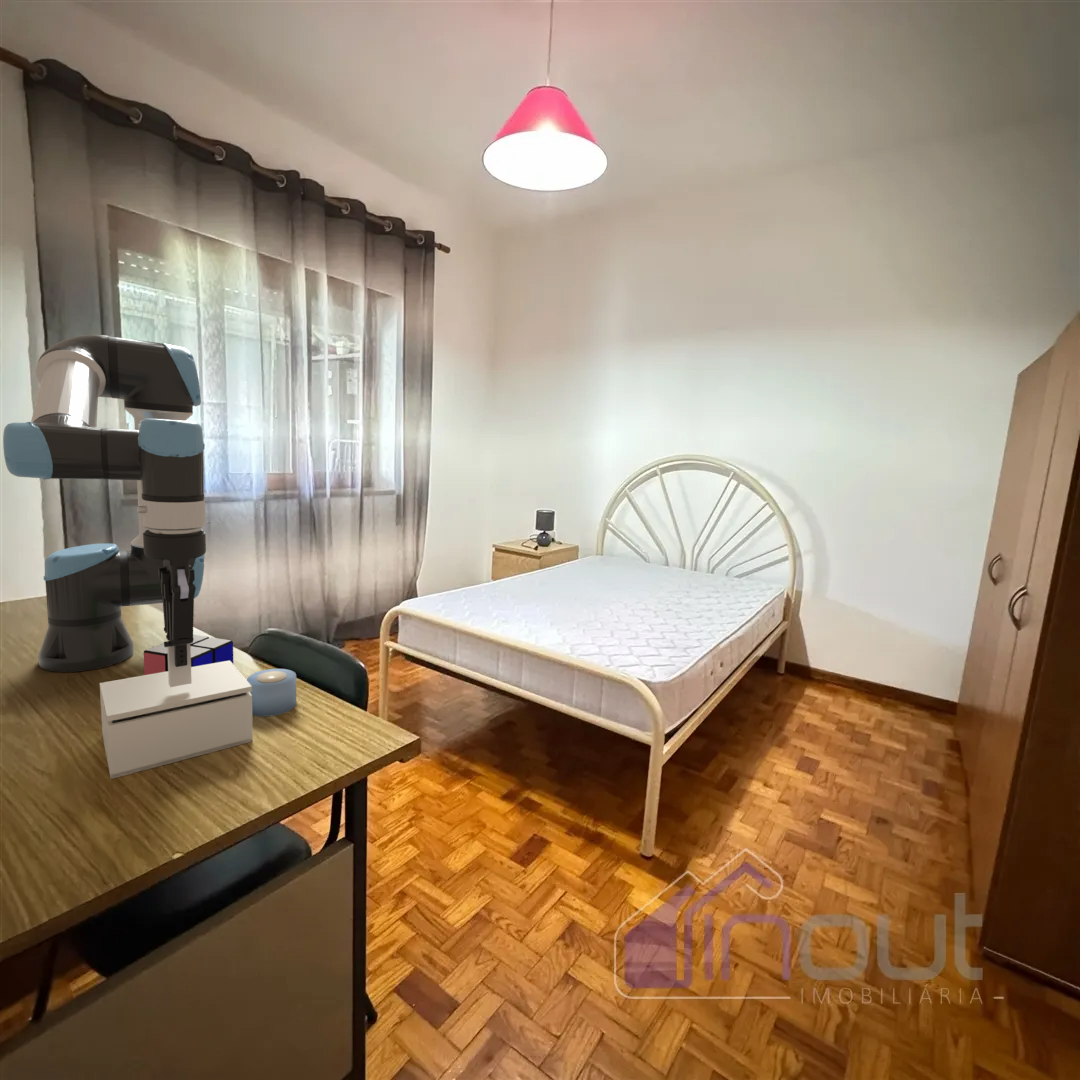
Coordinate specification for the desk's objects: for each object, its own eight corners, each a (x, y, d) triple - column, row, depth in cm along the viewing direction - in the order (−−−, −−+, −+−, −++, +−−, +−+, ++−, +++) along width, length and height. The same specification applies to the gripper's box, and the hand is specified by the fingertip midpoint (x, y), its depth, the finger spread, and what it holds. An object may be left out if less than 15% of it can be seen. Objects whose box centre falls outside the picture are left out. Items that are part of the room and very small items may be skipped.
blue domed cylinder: (241, 703, 101) (241, 673, 100) (288, 692, 107) (288, 664, 106) (254, 721, 95) (253, 689, 95) (302, 709, 101) (302, 679, 100)
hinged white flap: (99, 688, 86) (99, 683, 86) (230, 664, 98) (229, 660, 98) (107, 721, 76) (106, 716, 76) (251, 691, 88) (251, 686, 88)
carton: (102, 736, 88) (99, 689, 86) (230, 707, 99) (230, 665, 98) (110, 779, 77) (107, 726, 76) (252, 741, 89) (252, 695, 88)
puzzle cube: (193, 713, 97) (191, 658, 95) (144, 704, 98) (141, 650, 97) (235, 690, 106) (234, 640, 105) (189, 682, 108) (188, 633, 106)
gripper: (137, 522, 82) (144, 673, 86) (149, 538, 73) (156, 706, 77) (196, 521, 87) (199, 663, 91) (214, 535, 78) (218, 694, 82)
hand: (180, 683), depth 84 cm, fingers closed
